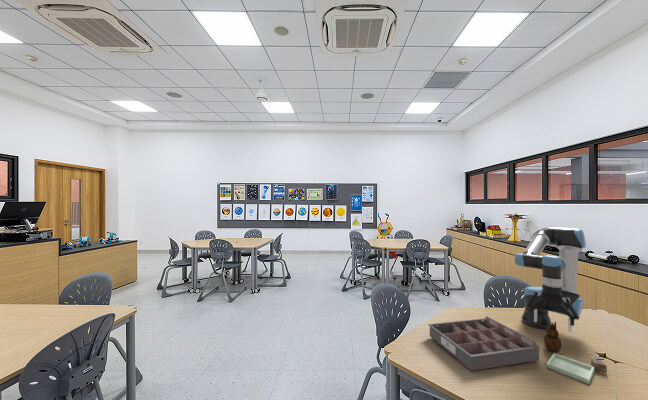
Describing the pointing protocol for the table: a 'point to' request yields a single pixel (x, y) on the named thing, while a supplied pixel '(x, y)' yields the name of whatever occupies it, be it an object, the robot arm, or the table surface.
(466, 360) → the organizer tray
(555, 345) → the wooden figurine
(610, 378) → the table surface
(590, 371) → the green tray
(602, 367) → the walnut cube
